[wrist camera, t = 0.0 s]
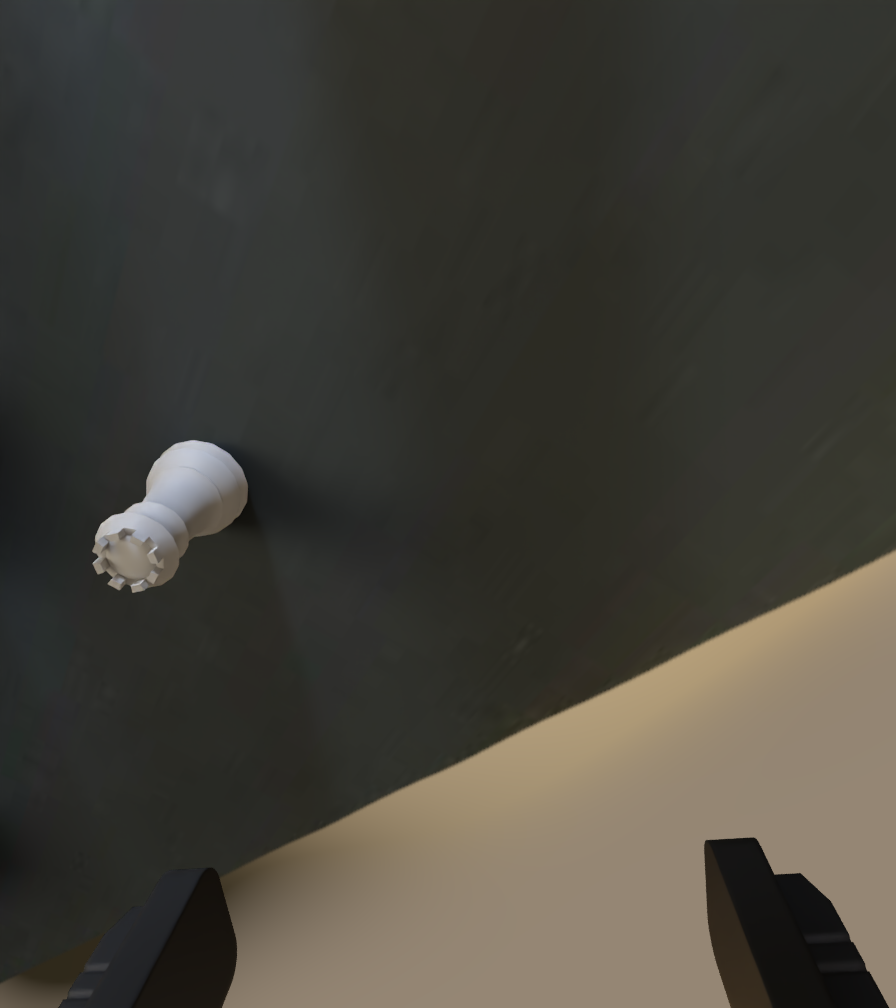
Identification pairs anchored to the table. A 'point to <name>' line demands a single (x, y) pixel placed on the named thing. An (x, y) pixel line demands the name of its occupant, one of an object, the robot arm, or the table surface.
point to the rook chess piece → (171, 515)
